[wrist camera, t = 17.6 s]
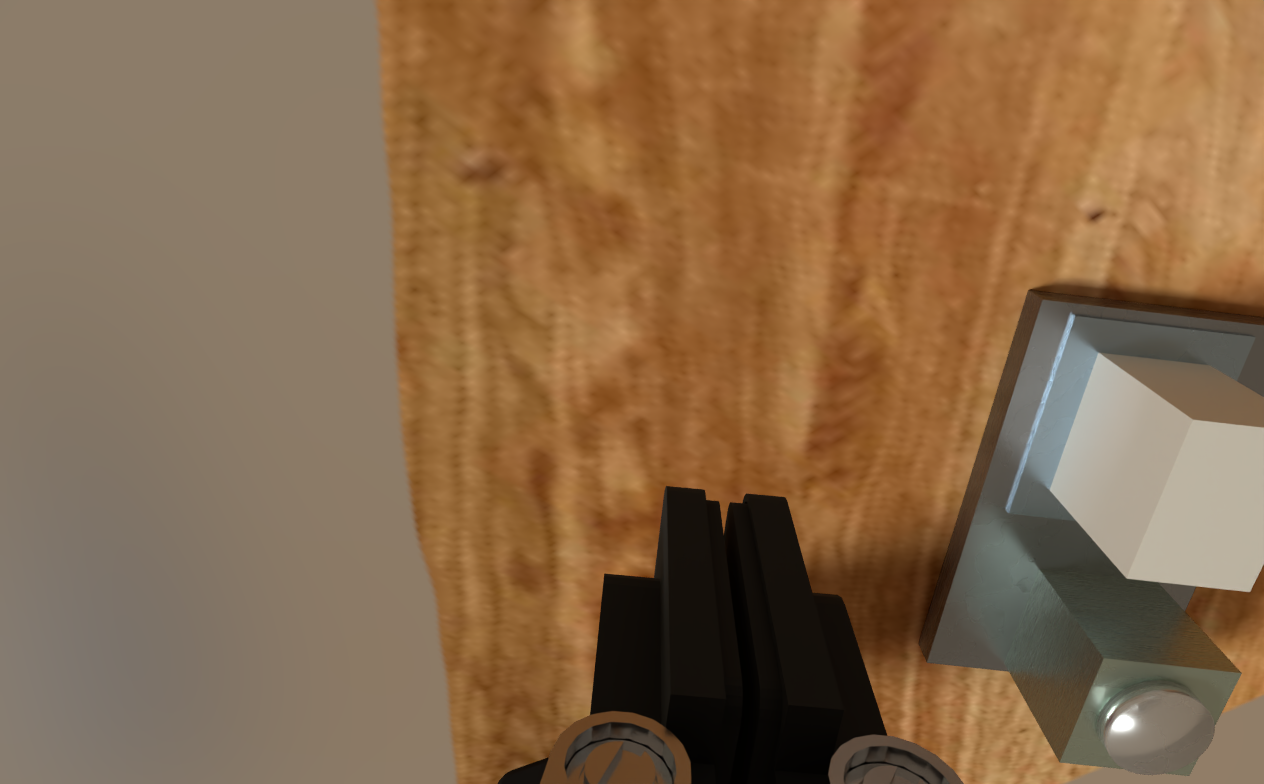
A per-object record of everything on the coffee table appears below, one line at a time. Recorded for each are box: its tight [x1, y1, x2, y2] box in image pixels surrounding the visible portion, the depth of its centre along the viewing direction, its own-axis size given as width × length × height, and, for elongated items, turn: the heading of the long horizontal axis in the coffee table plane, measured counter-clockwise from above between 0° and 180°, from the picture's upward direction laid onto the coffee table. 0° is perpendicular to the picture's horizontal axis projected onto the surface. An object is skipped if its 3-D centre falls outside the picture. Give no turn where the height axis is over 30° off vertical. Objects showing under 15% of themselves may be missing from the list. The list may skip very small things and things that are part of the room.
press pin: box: [1096, 680, 1215, 775], centre depth 38 cm, size 4×4×6 cm
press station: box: [919, 290, 1264, 776], centre depth 38 cm, size 20×12×8 cm, turn 174°
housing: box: [1050, 352, 1264, 592], centre depth 35 cm, size 7×5×7 cm
